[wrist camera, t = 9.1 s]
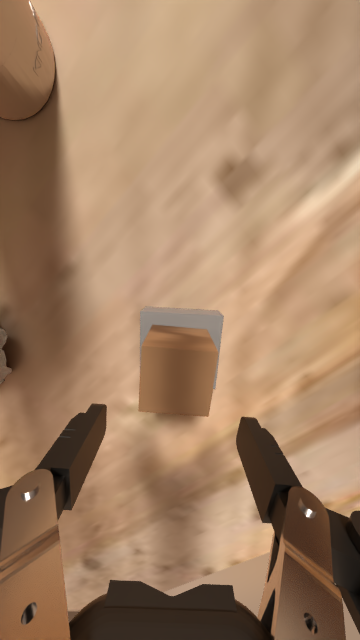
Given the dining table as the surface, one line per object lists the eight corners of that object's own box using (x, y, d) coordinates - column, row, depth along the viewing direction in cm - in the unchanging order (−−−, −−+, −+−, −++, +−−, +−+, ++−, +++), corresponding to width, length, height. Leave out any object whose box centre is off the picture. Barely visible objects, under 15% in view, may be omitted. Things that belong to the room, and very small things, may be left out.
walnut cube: (149, 373, 21) (138, 411, 16) (152, 324, 20) (141, 345, 14) (200, 377, 21) (208, 416, 16) (207, 329, 20) (218, 352, 14)
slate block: (145, 370, 25) (140, 385, 22) (146, 306, 23) (140, 311, 20) (210, 373, 25) (215, 389, 22) (217, 309, 23) (223, 315, 20)
